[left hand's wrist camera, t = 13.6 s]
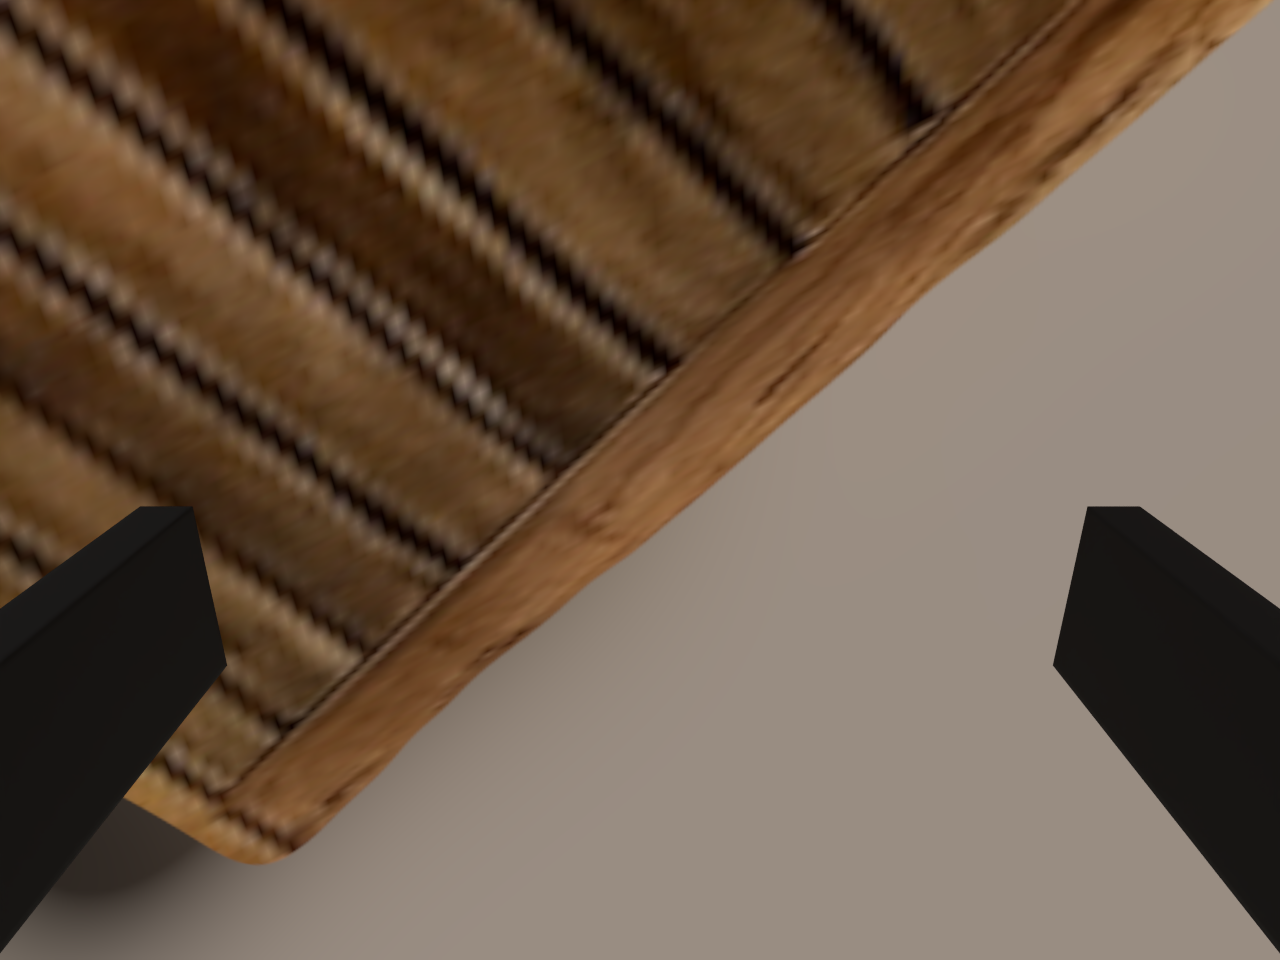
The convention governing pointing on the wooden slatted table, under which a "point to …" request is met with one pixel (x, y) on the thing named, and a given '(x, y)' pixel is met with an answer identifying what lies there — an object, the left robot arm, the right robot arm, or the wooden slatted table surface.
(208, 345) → the wooden slatted table surface
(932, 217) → the wooden slatted table surface
